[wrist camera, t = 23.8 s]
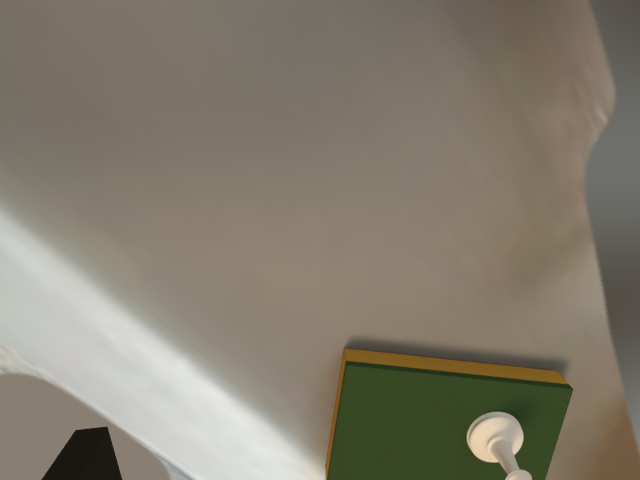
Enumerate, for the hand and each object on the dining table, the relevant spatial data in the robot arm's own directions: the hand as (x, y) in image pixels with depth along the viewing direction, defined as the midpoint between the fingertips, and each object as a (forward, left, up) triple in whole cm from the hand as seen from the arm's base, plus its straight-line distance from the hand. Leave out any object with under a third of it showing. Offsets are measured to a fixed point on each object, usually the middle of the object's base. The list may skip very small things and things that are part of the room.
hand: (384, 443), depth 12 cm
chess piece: (+17, -19, -28) cm, 38 cm away
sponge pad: (+13, -21, -31) cm, 39 cm away
